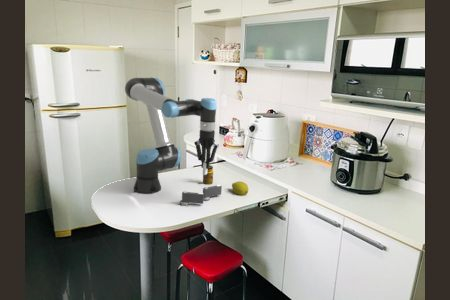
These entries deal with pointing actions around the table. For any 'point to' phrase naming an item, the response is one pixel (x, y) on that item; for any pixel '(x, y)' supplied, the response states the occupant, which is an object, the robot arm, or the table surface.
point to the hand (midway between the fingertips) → (204, 173)
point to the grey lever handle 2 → (211, 192)
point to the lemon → (240, 188)
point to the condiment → (208, 176)
